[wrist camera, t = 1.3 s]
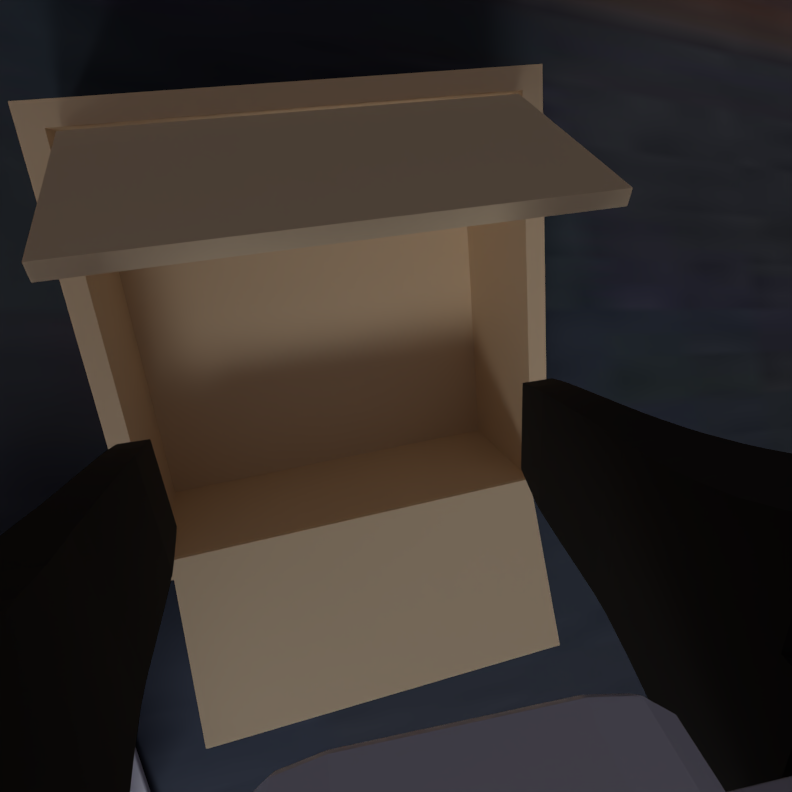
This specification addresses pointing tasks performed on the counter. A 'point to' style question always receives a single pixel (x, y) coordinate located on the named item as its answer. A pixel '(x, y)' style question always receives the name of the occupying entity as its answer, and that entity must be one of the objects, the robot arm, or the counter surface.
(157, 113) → the cardboard box
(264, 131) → the flap
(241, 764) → the counter surface
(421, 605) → the flap
